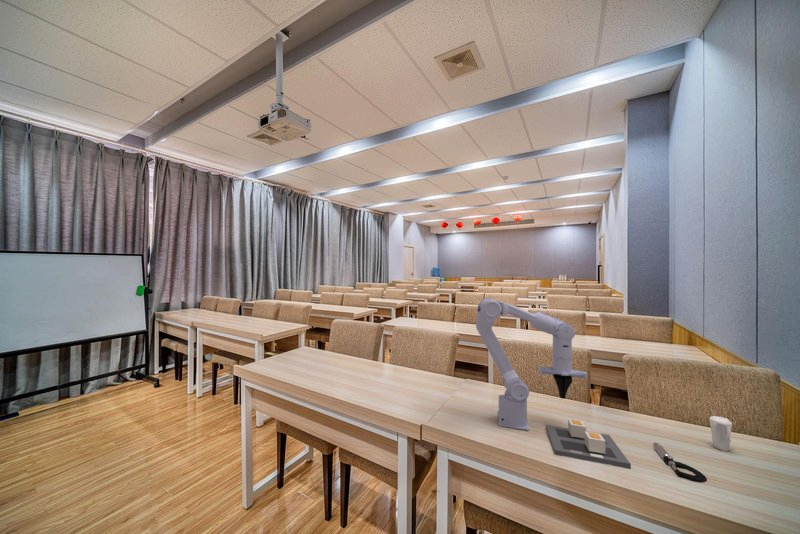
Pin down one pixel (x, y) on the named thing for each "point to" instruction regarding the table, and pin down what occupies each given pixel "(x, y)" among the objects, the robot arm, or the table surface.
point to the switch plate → (585, 448)
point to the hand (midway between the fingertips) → (562, 397)
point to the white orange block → (576, 428)
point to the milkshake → (720, 432)
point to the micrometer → (679, 465)
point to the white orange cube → (595, 442)
